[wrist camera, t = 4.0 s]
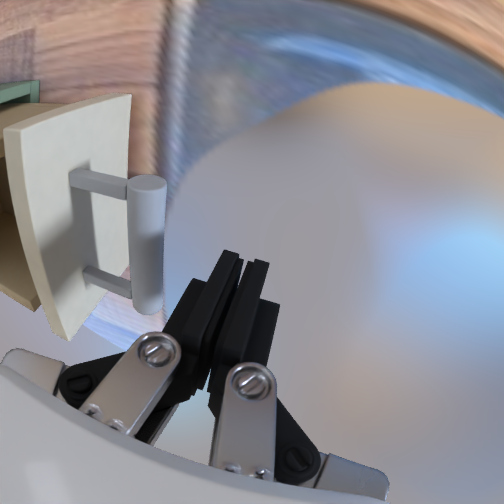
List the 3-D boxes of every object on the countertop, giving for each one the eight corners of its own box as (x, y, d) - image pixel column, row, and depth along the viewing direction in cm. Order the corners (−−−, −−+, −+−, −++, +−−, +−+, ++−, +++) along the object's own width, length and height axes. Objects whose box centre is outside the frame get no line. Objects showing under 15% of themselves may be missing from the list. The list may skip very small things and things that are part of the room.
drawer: (215, 104, 12) (124, 144, 6) (191, 285, 18) (141, 377, 12) (-3, 93, 13) (-80, 126, 7) (11, 218, 19) (-45, 266, 13)
